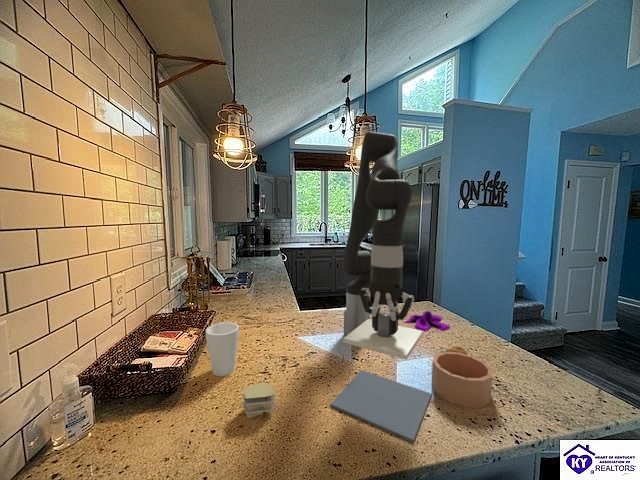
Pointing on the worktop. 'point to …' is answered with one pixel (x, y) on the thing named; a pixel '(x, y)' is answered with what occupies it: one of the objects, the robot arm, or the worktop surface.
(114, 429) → the worktop surface
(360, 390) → the mat
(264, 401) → the pale green layered block
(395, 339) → the cover
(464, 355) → the bowl
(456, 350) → the pastry
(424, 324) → the cloth
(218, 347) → the foam cup
